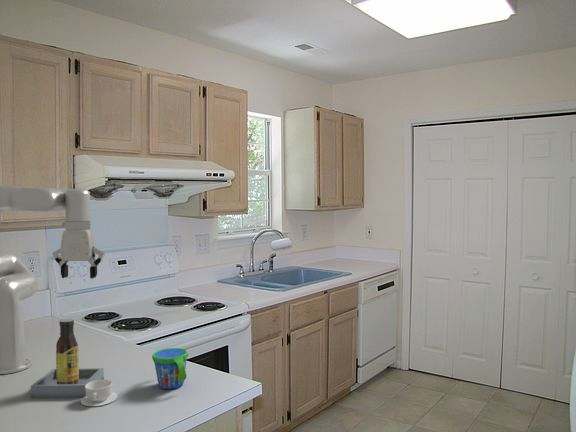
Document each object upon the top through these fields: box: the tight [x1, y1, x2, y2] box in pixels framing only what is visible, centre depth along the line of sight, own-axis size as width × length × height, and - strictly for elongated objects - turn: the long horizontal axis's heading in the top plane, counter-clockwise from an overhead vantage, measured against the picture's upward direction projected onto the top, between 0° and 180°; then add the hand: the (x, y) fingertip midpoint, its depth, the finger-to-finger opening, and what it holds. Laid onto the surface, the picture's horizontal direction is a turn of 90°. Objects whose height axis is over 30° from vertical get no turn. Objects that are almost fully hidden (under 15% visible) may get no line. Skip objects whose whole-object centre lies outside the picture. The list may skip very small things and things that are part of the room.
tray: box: [30, 367, 105, 399], centre depth 152 cm, size 16×14×4 cm
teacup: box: [80, 379, 118, 407], centre depth 143 cm, size 10×10×5 cm
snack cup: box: [151, 347, 189, 390], centre depth 153 cm, size 16×11×10 cm
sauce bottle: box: [55, 318, 80, 384], centre depth 152 cm, size 6×6×20 cm
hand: (79, 277), depth 166 cm, fingers open, 9 cm apart
